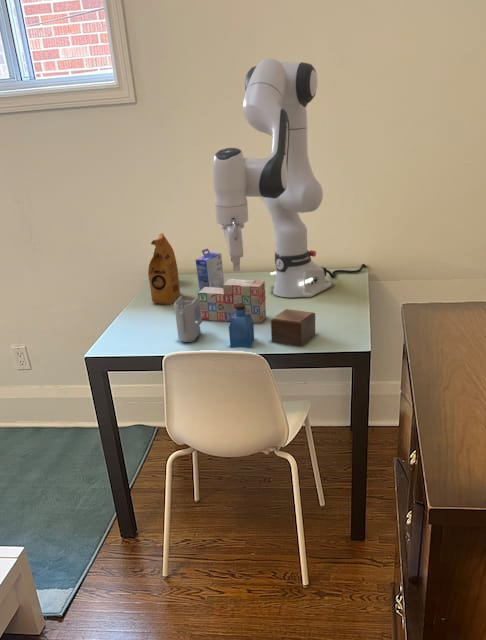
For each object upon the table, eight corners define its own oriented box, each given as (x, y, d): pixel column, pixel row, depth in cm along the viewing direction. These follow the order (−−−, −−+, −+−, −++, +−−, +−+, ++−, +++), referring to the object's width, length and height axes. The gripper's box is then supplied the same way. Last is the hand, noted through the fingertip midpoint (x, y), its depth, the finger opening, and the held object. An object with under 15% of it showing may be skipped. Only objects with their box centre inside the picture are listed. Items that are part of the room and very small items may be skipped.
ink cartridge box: (213, 284, 254) (209, 245, 246) (225, 286, 252) (222, 247, 244) (198, 292, 248) (194, 252, 240) (210, 294, 245) (206, 253, 237)
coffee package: (147, 304, 239) (138, 241, 227) (159, 293, 249) (150, 232, 237) (174, 305, 237) (166, 241, 225) (184, 293, 247) (177, 232, 235)
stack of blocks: (200, 320, 222) (196, 283, 216) (207, 313, 227) (203, 277, 221) (260, 323, 216) (259, 286, 209) (266, 317, 221) (265, 280, 214)
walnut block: (286, 330, 209) (285, 308, 205) (315, 334, 205) (315, 311, 201) (271, 342, 202) (270, 318, 198) (301, 346, 198) (301, 323, 194)
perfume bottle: (250, 347, 200) (248, 308, 193) (230, 347, 201) (227, 308, 194) (254, 339, 205) (252, 301, 198) (234, 339, 206) (231, 301, 199)
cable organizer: (204, 330, 214) (200, 293, 208) (193, 345, 204) (189, 306, 198) (184, 329, 216) (180, 293, 209) (173, 344, 205) (168, 306, 199)
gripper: (246, 222, 174) (249, 275, 182) (240, 206, 191) (243, 255, 199) (222, 224, 174) (226, 277, 181) (218, 208, 191) (222, 257, 198)
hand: (235, 266), depth 190 cm, fingers open, 8 cm apart
